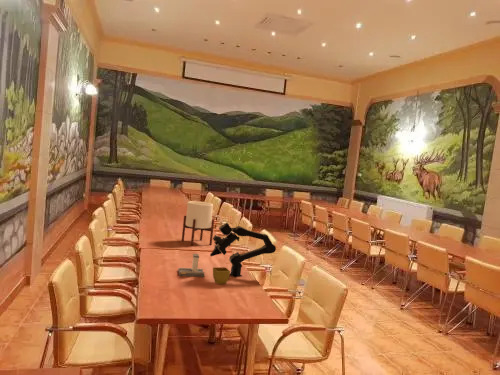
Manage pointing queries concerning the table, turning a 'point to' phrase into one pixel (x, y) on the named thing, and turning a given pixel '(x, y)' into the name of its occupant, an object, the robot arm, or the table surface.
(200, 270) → the grey railed base plate
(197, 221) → the plant pot with stand
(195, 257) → the fader knob
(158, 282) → the table surface
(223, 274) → the flower pot
